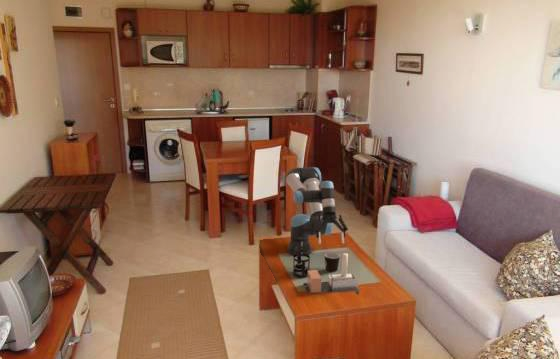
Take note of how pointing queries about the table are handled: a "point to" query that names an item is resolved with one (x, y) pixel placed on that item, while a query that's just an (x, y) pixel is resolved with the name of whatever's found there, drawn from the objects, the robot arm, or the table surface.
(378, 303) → the table surface
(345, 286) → the slotted sleeve
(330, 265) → the coffee mug
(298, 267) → the french press
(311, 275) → the socket block
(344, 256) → the bar
